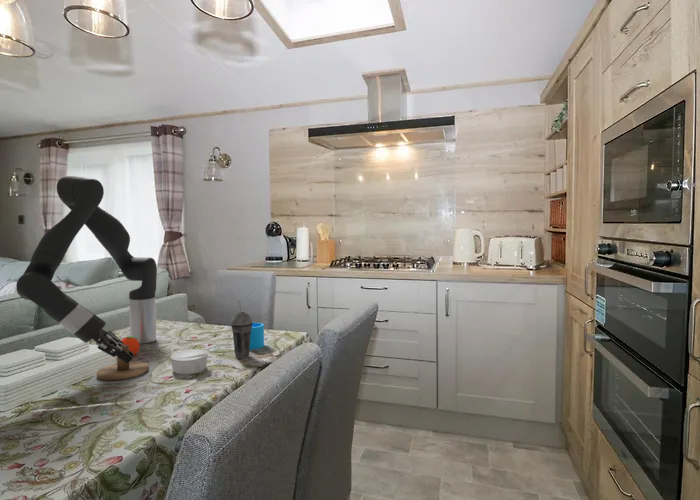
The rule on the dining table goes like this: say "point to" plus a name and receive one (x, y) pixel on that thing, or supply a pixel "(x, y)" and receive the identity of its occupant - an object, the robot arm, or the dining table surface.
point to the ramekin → (189, 361)
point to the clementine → (132, 344)
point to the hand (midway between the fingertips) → (130, 358)
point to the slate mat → (96, 381)
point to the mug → (257, 336)
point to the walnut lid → (122, 369)
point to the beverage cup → (241, 333)
